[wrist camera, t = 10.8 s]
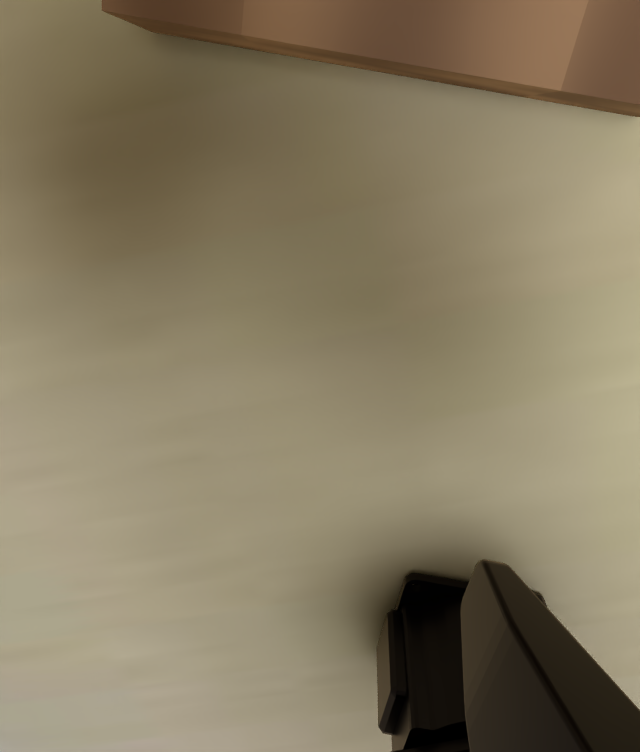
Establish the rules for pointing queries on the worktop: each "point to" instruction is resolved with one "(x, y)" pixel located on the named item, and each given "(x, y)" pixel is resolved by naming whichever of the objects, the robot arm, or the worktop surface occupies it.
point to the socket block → (433, 40)
